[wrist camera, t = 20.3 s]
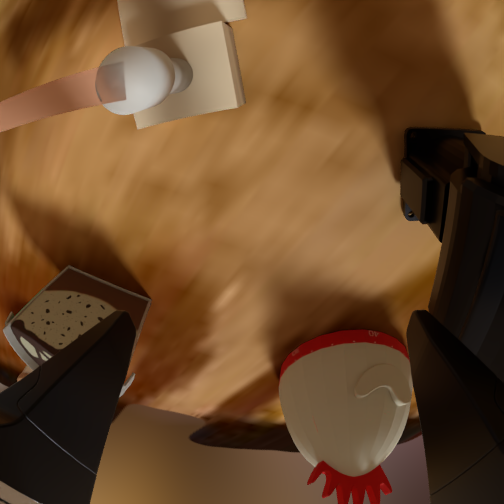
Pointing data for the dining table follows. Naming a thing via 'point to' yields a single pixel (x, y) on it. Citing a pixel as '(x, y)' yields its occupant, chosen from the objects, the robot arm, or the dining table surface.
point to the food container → (69, 315)
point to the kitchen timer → (347, 408)
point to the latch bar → (97, 88)
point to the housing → (188, 53)
